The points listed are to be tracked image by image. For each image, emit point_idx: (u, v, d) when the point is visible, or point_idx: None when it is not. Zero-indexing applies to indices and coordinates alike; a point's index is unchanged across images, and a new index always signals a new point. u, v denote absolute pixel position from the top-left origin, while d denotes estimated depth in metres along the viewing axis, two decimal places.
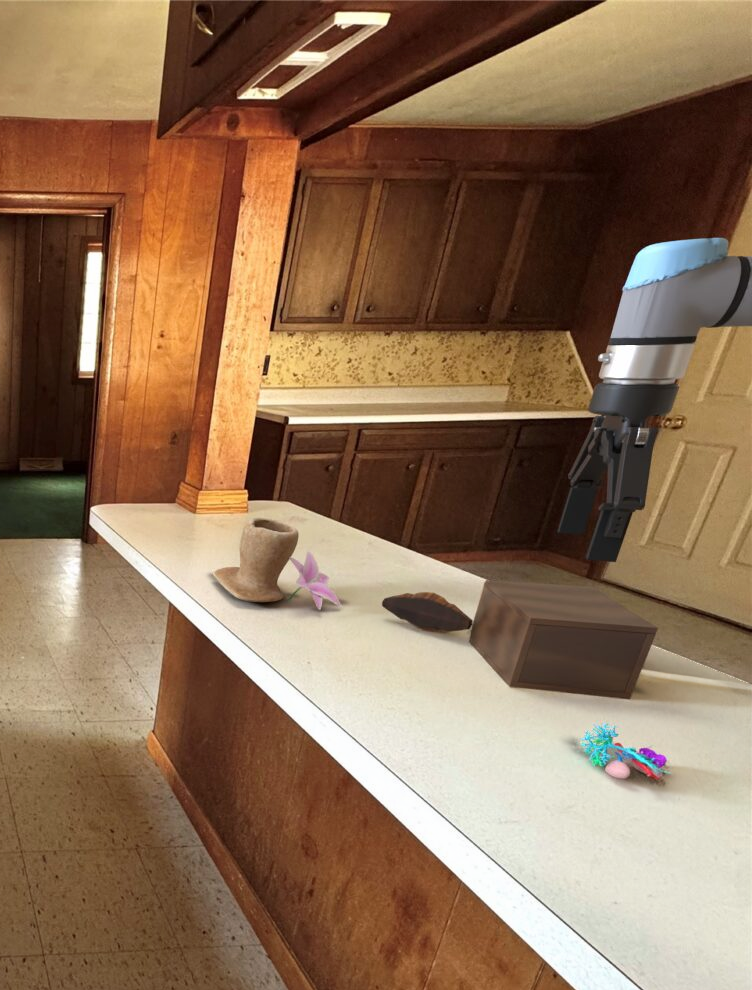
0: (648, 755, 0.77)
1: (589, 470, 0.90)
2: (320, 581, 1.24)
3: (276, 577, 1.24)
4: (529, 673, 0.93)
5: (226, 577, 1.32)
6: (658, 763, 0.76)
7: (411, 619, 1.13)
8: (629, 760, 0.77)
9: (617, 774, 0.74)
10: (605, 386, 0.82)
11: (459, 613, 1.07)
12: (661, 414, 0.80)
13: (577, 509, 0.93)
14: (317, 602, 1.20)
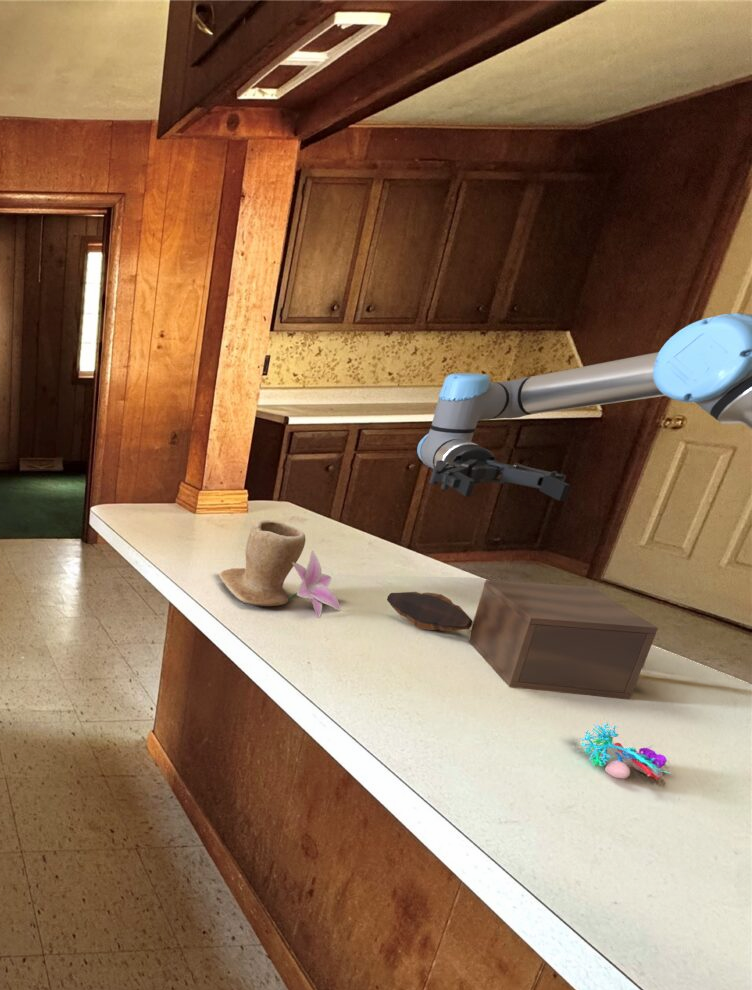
0: (648, 755, 0.77)
1: (524, 481, 1.18)
2: (322, 583, 1.23)
3: (281, 581, 1.24)
4: (529, 673, 0.93)
5: (231, 579, 1.31)
6: (658, 763, 0.76)
7: (412, 613, 1.14)
8: (629, 760, 0.77)
9: (617, 774, 0.74)
10: None
11: (462, 612, 1.08)
12: (459, 454, 1.26)
13: (550, 488, 1.13)
14: (317, 609, 1.20)
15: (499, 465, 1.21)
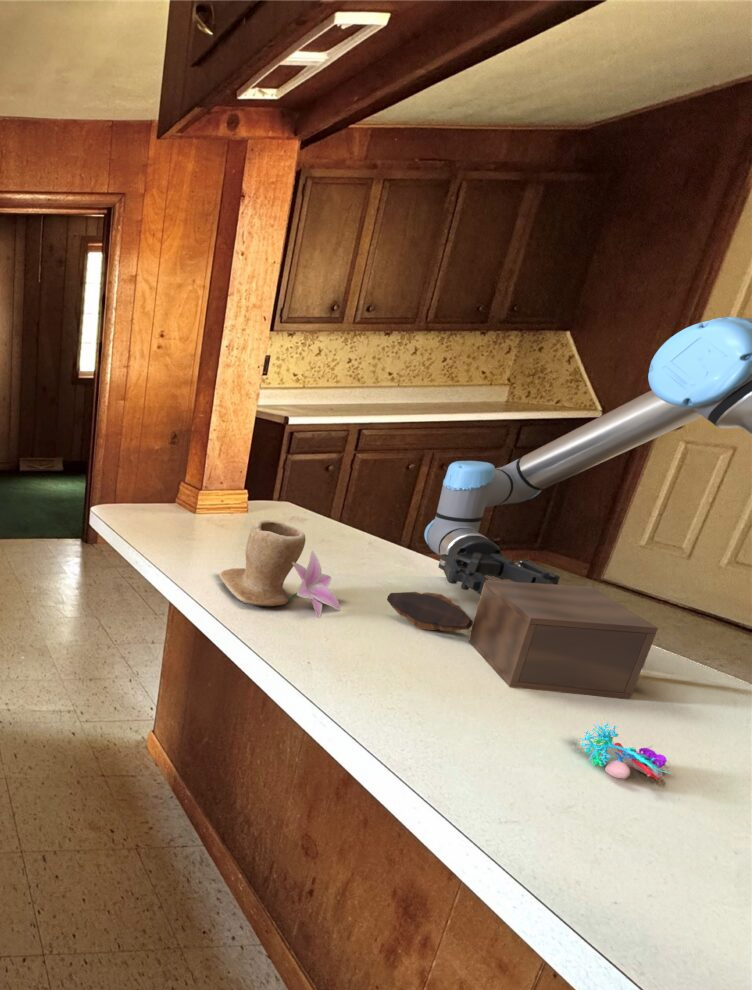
0: (648, 755, 0.77)
1: (520, 579, 1.14)
2: (322, 583, 1.23)
3: (281, 581, 1.24)
4: (529, 673, 0.93)
5: (231, 579, 1.31)
6: (658, 763, 0.76)
7: (412, 613, 1.14)
8: (629, 760, 0.77)
9: (617, 774, 0.74)
10: None
11: (462, 612, 1.08)
12: (463, 546, 1.23)
13: None
14: (317, 609, 1.20)
15: (500, 560, 1.18)
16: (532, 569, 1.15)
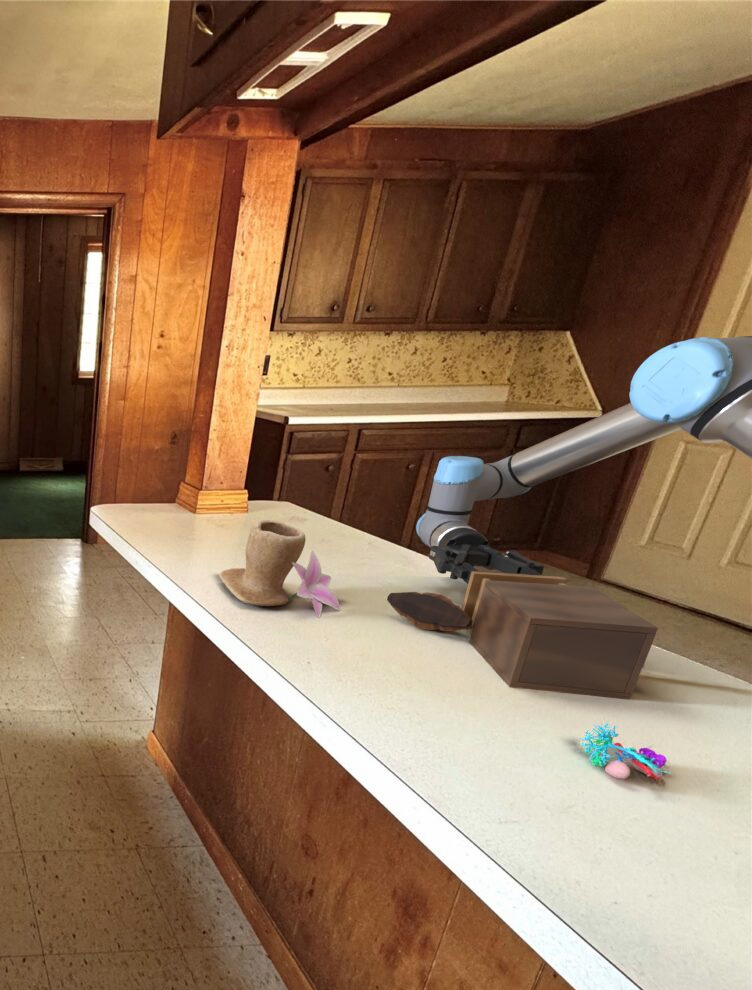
0: (648, 755, 0.77)
1: (507, 569, 1.19)
2: (322, 583, 1.23)
3: (281, 581, 1.24)
4: (529, 673, 0.93)
5: (231, 579, 1.31)
6: (658, 763, 0.76)
7: (412, 613, 1.14)
8: (629, 760, 0.77)
9: (617, 774, 0.74)
10: None
11: (462, 612, 1.08)
12: (453, 538, 1.28)
13: None
14: (317, 609, 1.20)
15: (488, 551, 1.23)
16: (518, 559, 1.20)
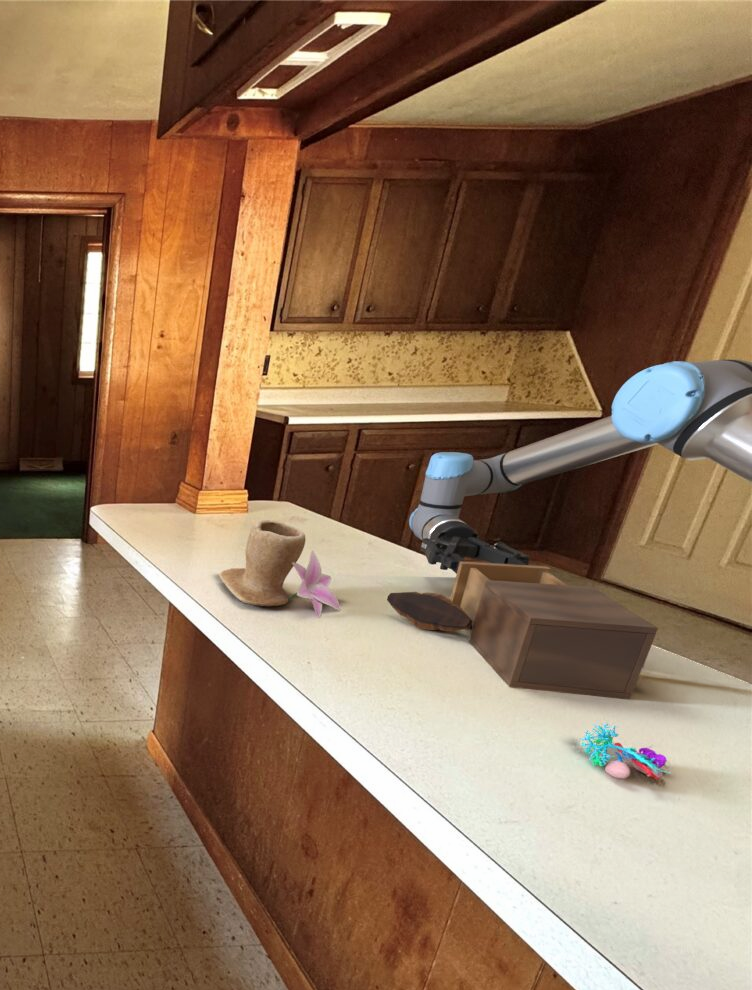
0: (648, 755, 0.77)
1: (495, 560, 1.24)
2: (322, 583, 1.23)
3: (281, 581, 1.24)
4: (529, 673, 0.93)
5: (231, 579, 1.31)
6: (658, 763, 0.76)
7: (412, 613, 1.14)
8: (629, 760, 0.77)
9: (617, 774, 0.74)
10: None
11: (462, 612, 1.08)
12: (443, 531, 1.33)
13: None
14: (317, 609, 1.20)
15: (477, 543, 1.28)
16: (506, 551, 1.25)
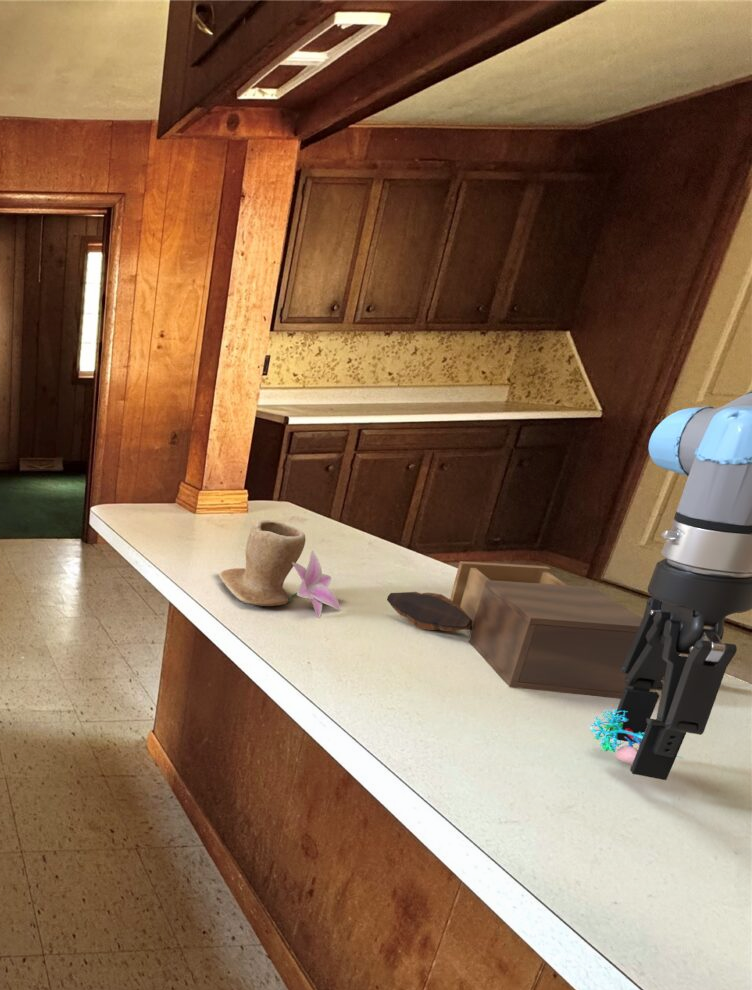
0: None
1: (649, 666, 0.74)
2: (322, 583, 1.23)
3: (281, 581, 1.24)
4: (529, 673, 0.93)
5: (231, 579, 1.31)
6: None
7: (412, 613, 1.14)
8: None
9: (627, 759, 0.73)
10: (671, 570, 0.67)
11: (462, 612, 1.08)
12: (743, 611, 0.65)
13: (633, 715, 0.77)
14: (317, 609, 1.20)
15: None
16: None
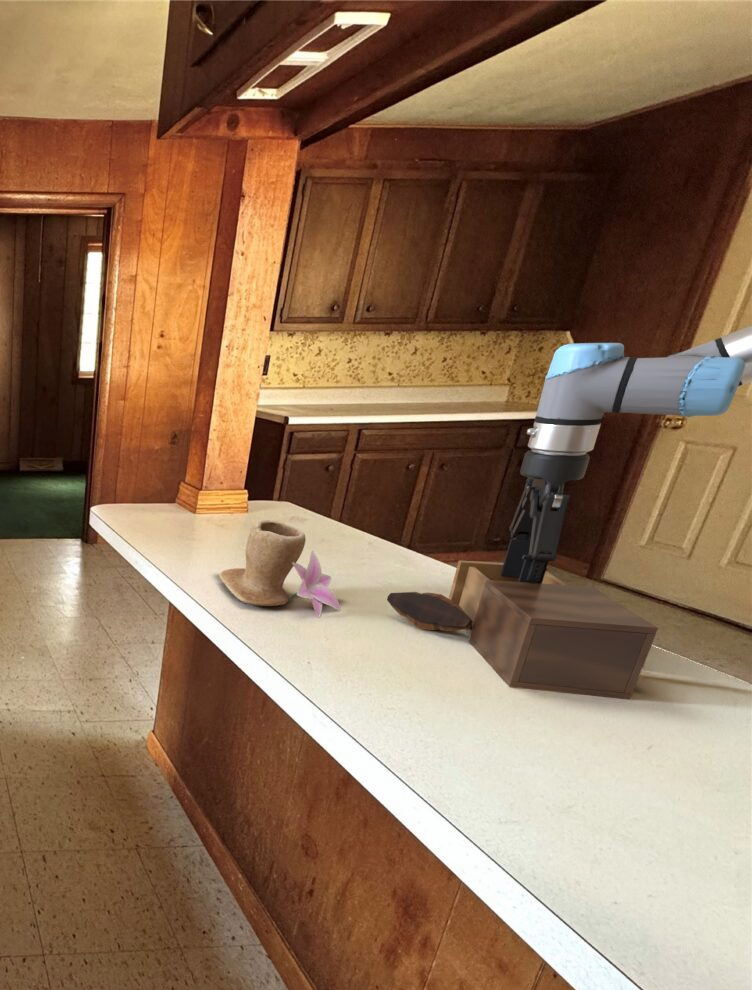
0: None
1: (524, 523, 1.09)
2: (322, 583, 1.23)
3: (281, 581, 1.24)
4: (529, 673, 0.93)
5: (231, 579, 1.31)
6: None
7: (412, 613, 1.14)
8: None
9: None
10: (532, 455, 1.01)
11: (462, 612, 1.08)
12: (575, 479, 0.99)
13: (516, 557, 1.12)
14: (317, 609, 1.20)
15: None
16: None
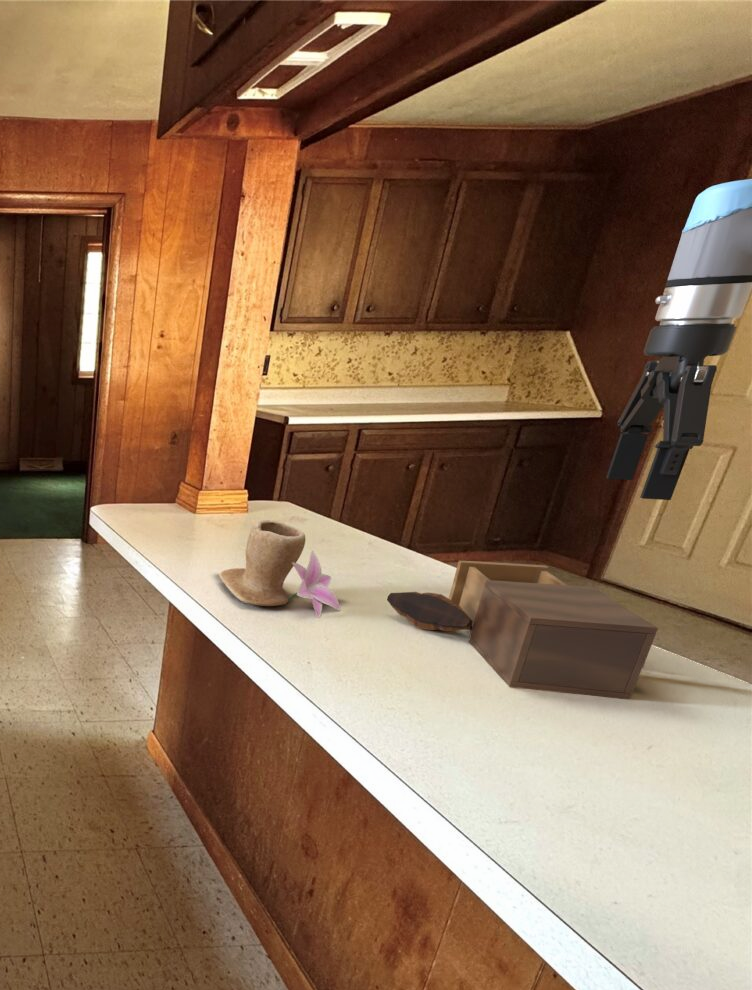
0: None
1: (640, 415, 0.92)
2: (322, 583, 1.23)
3: (281, 581, 1.24)
4: (529, 673, 0.93)
5: (231, 579, 1.31)
6: None
7: (412, 613, 1.14)
8: None
9: None
10: (662, 327, 0.84)
11: (462, 612, 1.08)
12: (718, 353, 0.82)
13: (627, 455, 0.95)
14: (317, 609, 1.20)
15: None
16: None
